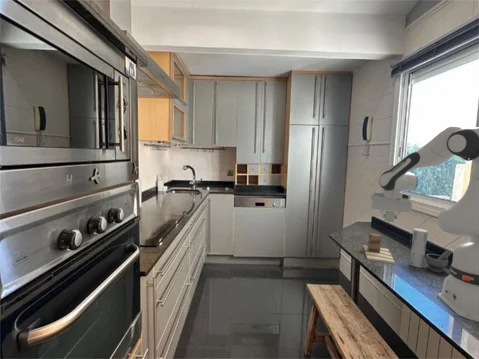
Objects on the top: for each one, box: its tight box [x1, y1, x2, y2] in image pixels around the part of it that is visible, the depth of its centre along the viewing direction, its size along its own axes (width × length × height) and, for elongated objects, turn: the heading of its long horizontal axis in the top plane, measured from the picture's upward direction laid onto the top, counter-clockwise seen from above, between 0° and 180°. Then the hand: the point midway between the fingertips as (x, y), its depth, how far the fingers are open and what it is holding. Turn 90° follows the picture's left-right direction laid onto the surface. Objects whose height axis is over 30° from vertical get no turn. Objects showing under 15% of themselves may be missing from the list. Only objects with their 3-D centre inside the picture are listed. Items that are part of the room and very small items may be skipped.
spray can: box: [409, 228, 429, 268], centre depth 144 cm, size 6×6×20 cm
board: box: [363, 245, 396, 265], centre depth 157 cm, size 22×14×1 cm, turn 159°
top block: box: [368, 232, 382, 245], centre depth 161 cm, size 5×5×5 cm
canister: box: [384, 210, 396, 223], centre depth 148 cm, size 5×5×6 cm
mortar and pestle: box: [425, 248, 453, 273], centre depth 139 cm, size 11×9×12 cm
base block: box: [367, 239, 381, 253], centre depth 161 cm, size 6×6×5 cm
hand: (389, 218), depth 148 cm, fingers closed on canister, 5 cm apart
